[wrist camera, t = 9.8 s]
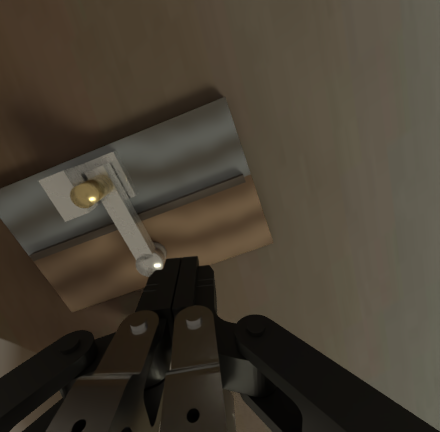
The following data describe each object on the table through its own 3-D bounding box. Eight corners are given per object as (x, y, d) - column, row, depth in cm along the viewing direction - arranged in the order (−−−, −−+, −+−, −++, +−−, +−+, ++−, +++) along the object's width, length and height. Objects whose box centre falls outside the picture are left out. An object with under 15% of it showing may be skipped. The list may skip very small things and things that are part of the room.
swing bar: (169, 263, 36) (160, 295, 30) (146, 272, 36) (132, 305, 30) (113, 160, 31) (87, 171, 24) (87, 171, 31) (55, 185, 24)
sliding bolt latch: (271, 238, 39) (275, 246, 36) (76, 306, 42) (68, 318, 39) (224, 97, 31) (225, 95, 29) (-8, 192, 34) (-25, 198, 32)
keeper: (138, 193, 34) (122, 209, 28) (94, 210, 34) (70, 229, 28) (116, 150, 32) (94, 157, 26) (70, 169, 32) (38, 180, 26)
